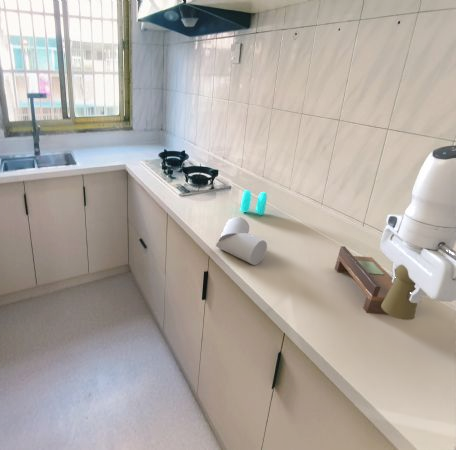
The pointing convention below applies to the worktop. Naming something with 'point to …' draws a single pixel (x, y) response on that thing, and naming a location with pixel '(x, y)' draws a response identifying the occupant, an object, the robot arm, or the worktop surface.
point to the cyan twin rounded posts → (247, 199)
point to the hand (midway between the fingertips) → (404, 292)
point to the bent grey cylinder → (242, 241)
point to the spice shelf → (366, 278)
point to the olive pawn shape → (400, 296)
